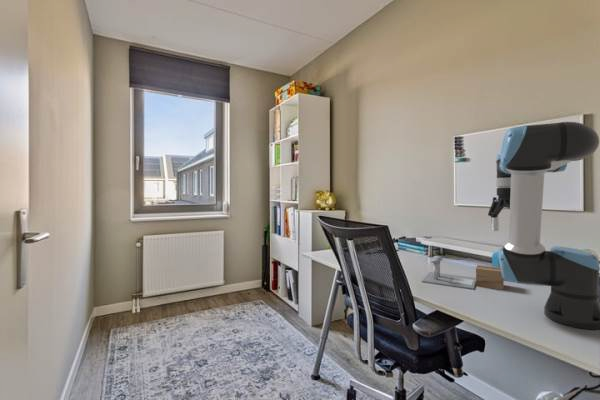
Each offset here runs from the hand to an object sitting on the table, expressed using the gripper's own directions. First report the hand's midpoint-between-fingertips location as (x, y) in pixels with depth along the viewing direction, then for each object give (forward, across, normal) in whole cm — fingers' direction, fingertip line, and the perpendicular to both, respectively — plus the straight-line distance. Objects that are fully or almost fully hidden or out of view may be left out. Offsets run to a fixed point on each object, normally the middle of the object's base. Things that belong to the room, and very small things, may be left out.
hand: (506, 233), depth 139 cm
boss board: (+22, +4, +26) cm, 34 cm away
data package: (+22, +2, -2) cm, 22 cm away
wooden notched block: (+22, -6, +13) cm, 26 cm away
